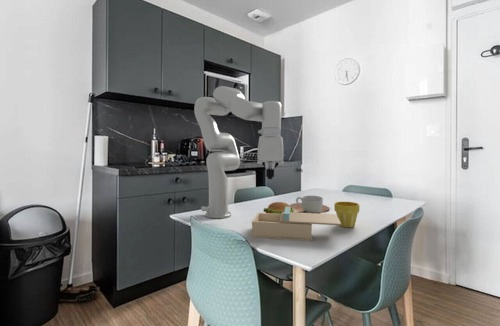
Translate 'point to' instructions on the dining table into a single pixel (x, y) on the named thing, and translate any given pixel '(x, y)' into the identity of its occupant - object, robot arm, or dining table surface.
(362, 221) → the dining table surface
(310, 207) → the teacup
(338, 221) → the lid
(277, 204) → the food
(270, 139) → the robot arm
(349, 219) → the plant pot
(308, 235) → the box
